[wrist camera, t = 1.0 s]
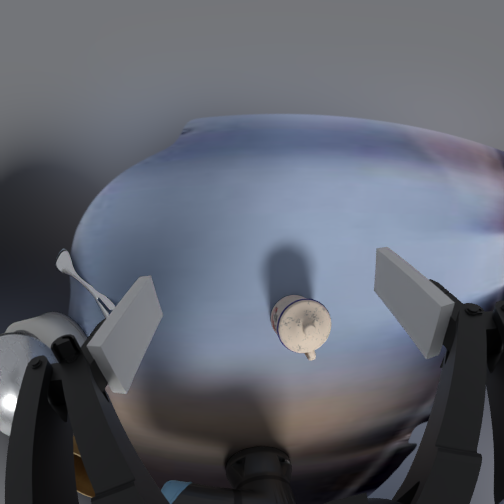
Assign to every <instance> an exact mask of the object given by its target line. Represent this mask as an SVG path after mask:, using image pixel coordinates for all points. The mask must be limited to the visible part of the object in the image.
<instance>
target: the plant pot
mask: <svg viewBox="0 0 504 504" xmlns="http://www.w3.org/2000/svg"><path fill="white" fill-rule="evenodd" d="M73 452H74V468H75V479H76V487H77V491H78V492H79V493H81V494H83V495H86V496H88V497H91V498H92V497H95V492H94V489H93V487H92V485H91V482H90V480H89V477H88V475H87V472H86V470H85V467H84V464H83V461H82V458H81V456H80V453H79V450H78V446H77V443H76V440H75V437H74V436H73Z"/></svg>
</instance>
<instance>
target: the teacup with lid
mask: <svg viewBox="0 0 504 504" xmlns="http://www.w3.org/2000/svg"><path fill="white" fill-rule="evenodd" d="M271 325H272V327H273V329H274V331H275V332H276V333H277V335H278V337H279V339H280V341H281V343H282V344H283V345H284V346H285V347H286V348H287V349H289V350H291V351H293V352H297V353H305V355H306V357H307V358H308V359H309V360H310V361H312V360H314V359H315V358H316V354H315V350H316V349H317V348H319V347H320V346H321V345H322V344H323V343H324V342H325V341H326V339H327V338H328V336H329V333H330V330H331V318H330V315H329V312H328V310H327V309H326V308H325V306H324V305H323V304H321V303H320V302H318V301H316V300H313V299H307V298H304V297H302V296H299V295H290V296H286V297H284V298H282V299H281V300H279V301H278V302H277V303H276V304H275V306H274V307H273V310H272V312H271Z"/></svg>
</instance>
